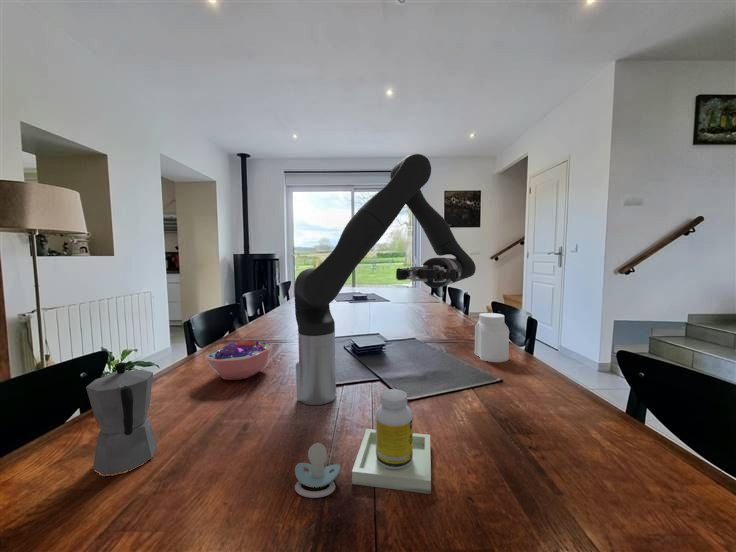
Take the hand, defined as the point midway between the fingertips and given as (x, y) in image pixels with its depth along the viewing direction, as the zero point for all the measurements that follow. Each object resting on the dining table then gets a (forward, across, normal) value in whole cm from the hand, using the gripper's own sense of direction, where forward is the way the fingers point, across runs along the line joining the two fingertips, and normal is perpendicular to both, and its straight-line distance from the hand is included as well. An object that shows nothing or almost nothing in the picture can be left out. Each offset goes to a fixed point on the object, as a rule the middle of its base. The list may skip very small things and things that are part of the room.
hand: (416, 275), depth 67 cm
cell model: (+2, -56, +32) cm, 65 cm away
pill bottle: (+15, +2, +32) cm, 35 cm away
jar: (-52, +7, +32) cm, 62 cm away
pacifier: (+26, -6, +32) cm, 42 cm away
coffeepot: (+39, -39, +32) cm, 64 cm away
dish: (+15, +2, +32) cm, 36 cm away
